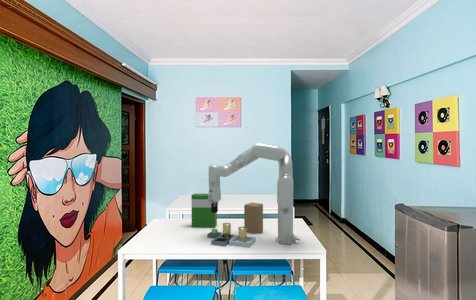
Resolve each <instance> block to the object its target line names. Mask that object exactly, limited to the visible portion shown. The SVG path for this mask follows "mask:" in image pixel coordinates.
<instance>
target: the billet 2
mask: <svg viewBox="0 0 476 300" xmlns="http://www.w3.org/2000/svg"><path fill="white" fill-rule="evenodd" d="M237 230H238V237H239V240H238V242H246V243H248V241H247V236H248V235H247V234H248V233H247V227H244V226H239V227H238V228H237Z"/></svg>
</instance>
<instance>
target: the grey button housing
mask: <svg viewBox="0 0 476 300" xmlns="http://www.w3.org/2000/svg"><path fill="white" fill-rule="evenodd" d="M222 234H223V231H222V232H221V231H218V234H217V235H215V234H212V231H210V232H209V233H207V235H206V236H207V239H208V238H209V239H215V238H217V237H219V236H220V235H222Z"/></svg>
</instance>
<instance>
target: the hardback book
mask: <svg viewBox="0 0 476 300" xmlns="http://www.w3.org/2000/svg"><path fill="white" fill-rule="evenodd" d="M208 195H209V193H193V194H191V228H197V229H198V228H199V229H200V228H201V229H202V228H203V229H216V227H217V224H218V219H217V217H218V212H216V213H212V212H211V204H209V203H210V202H209V199H208ZM212 202H213V201H212Z"/></svg>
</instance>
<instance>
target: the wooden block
mask: <svg viewBox="0 0 476 300" xmlns="http://www.w3.org/2000/svg"><path fill="white" fill-rule="evenodd" d="M243 208H244V210H243V215H244V217H243V219H244V221H243V223H244V226H243V227H247V234H248V233H249V234H253V235H257V234H261V233H263V232H264V204H263V203H258V202H249V203H246V204H244V206H243Z"/></svg>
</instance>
